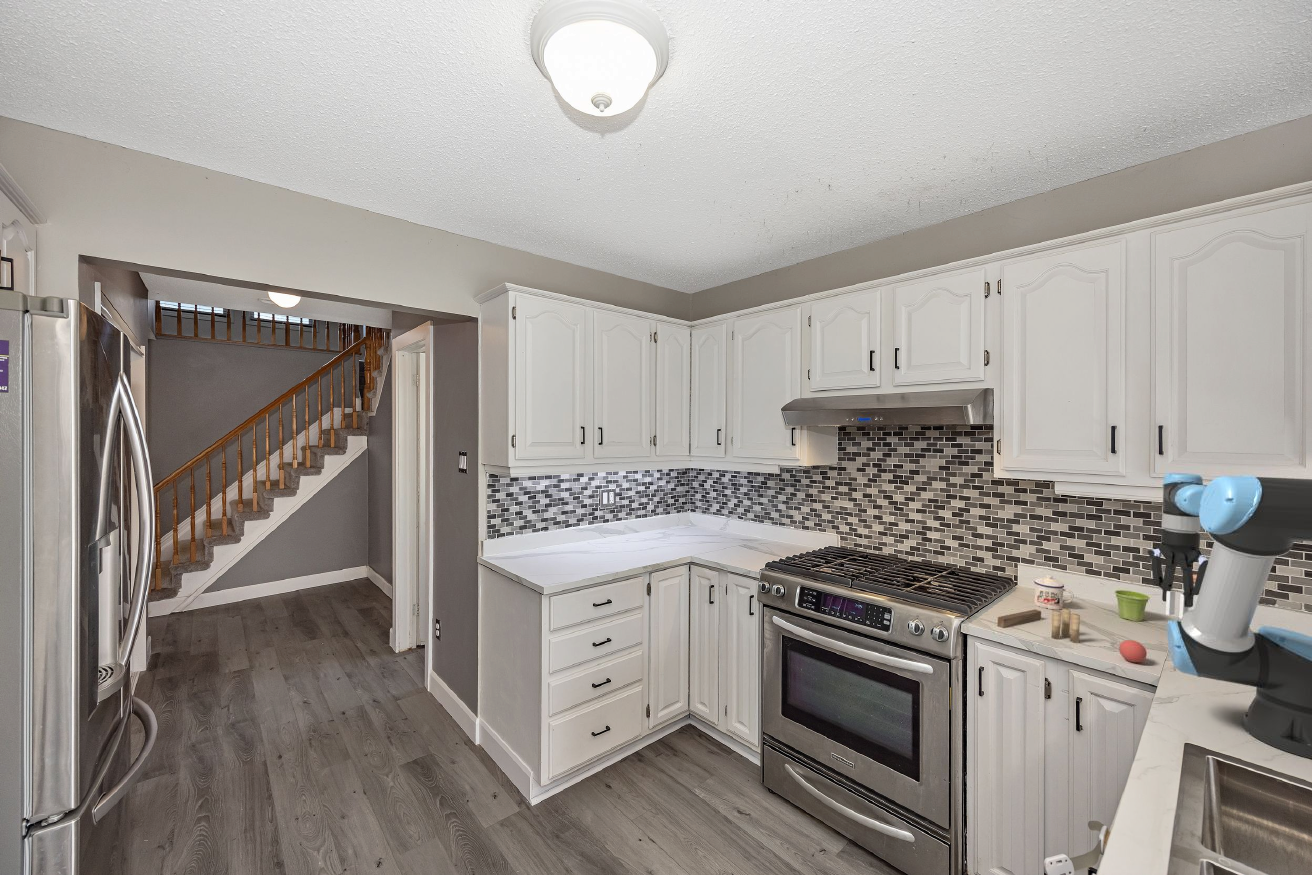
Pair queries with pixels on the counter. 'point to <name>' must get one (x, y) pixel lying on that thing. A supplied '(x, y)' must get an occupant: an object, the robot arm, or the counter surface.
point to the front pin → (1075, 628)
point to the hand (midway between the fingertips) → (1176, 616)
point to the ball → (1132, 651)
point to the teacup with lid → (1050, 593)
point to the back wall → (1019, 618)
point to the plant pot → (1131, 604)
